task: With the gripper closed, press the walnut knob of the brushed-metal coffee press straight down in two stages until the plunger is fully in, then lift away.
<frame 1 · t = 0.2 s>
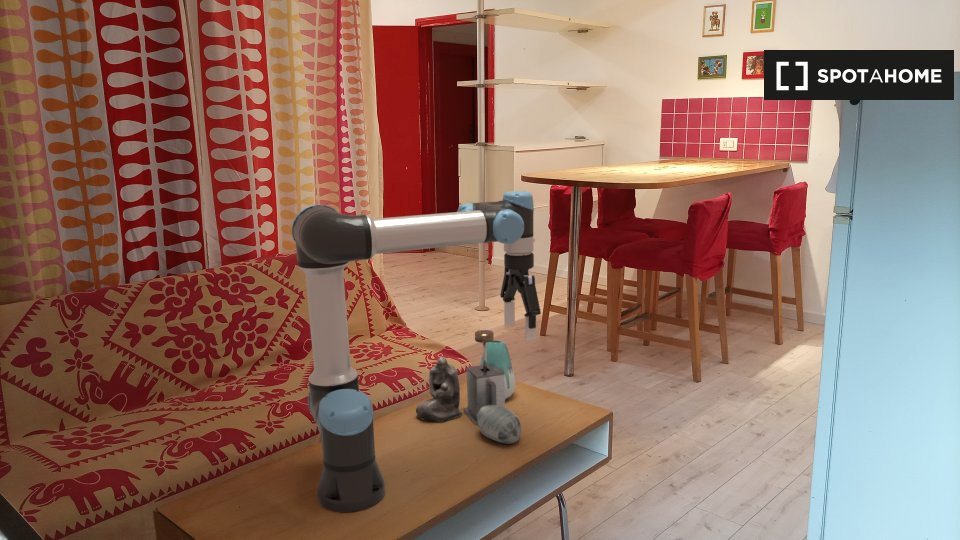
hand: (519, 332, 188), 28 cm above the table, fingers open, 13 cm apart
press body: (486, 415, 206), on the table
vase: (496, 397, 219), on the table
striped grey egg shape: (498, 438, 192), on the table
figurine: (440, 416, 206), on the table
plunger: (484, 354, 202), point 18 cm above the table, slide at 0.0 cm
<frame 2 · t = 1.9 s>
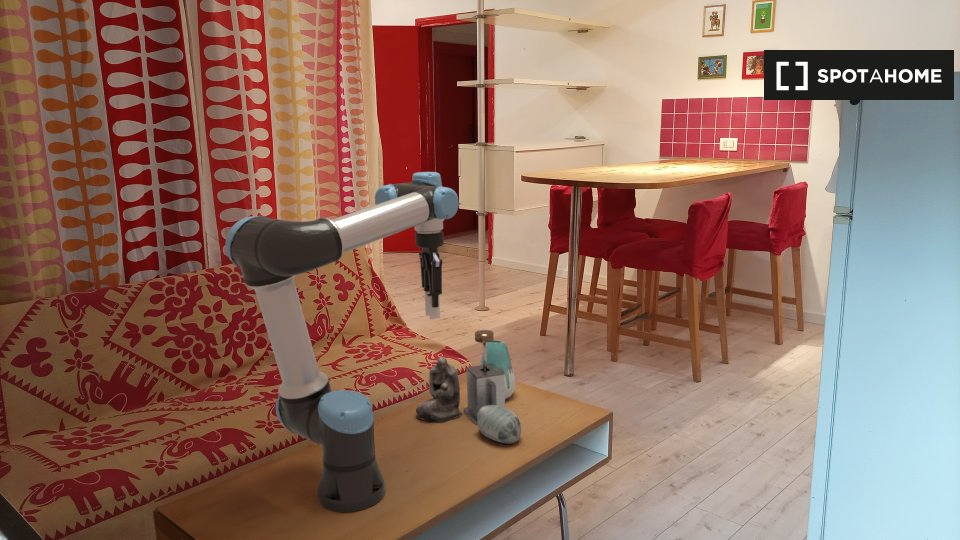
hand: (432, 316, 196), 31 cm above the table, fingers open, 3 cm apart
nothing on the table moved.
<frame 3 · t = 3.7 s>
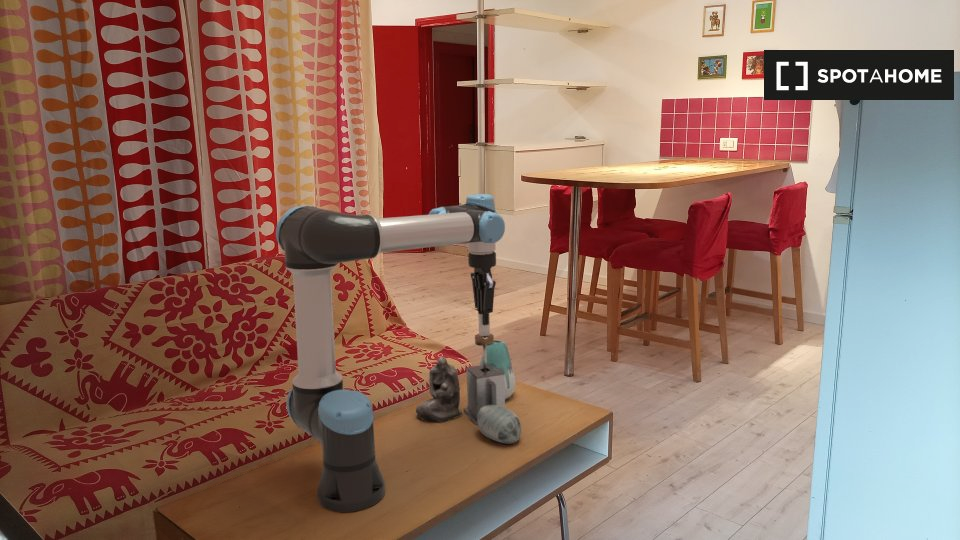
hand: (484, 335, 200), 24 cm above the table, fingers closed
plunger: (484, 358, 202), point 17 cm above the table, slide at 0.9 cm, touching gripper
everything else where it was.
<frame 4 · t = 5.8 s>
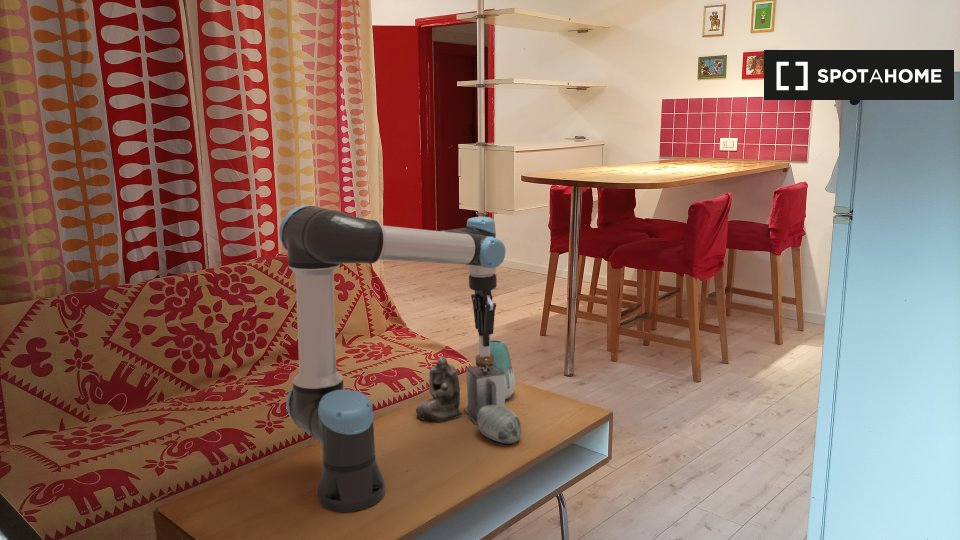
hand: (484, 356, 202), 18 cm above the table, fingers closed
plunger: (485, 378, 203), point 11 cm above the table, slide at 7.1 cm, touching gripper
everything else where it was.
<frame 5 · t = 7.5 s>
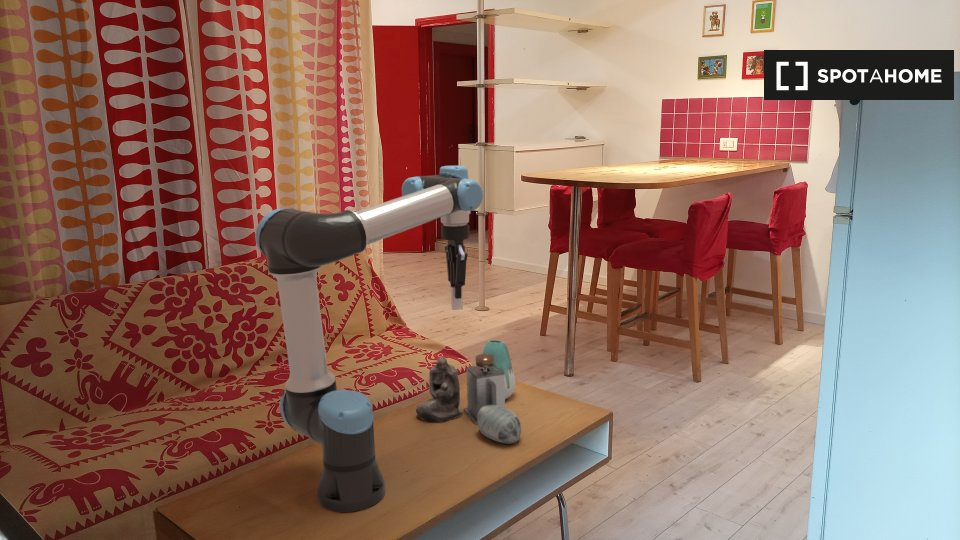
hand: (457, 309, 198), 32 cm above the table, fingers closed
plunger: (485, 378, 203), point 11 cm above the table, slide at 7.1 cm
everything else where it was.
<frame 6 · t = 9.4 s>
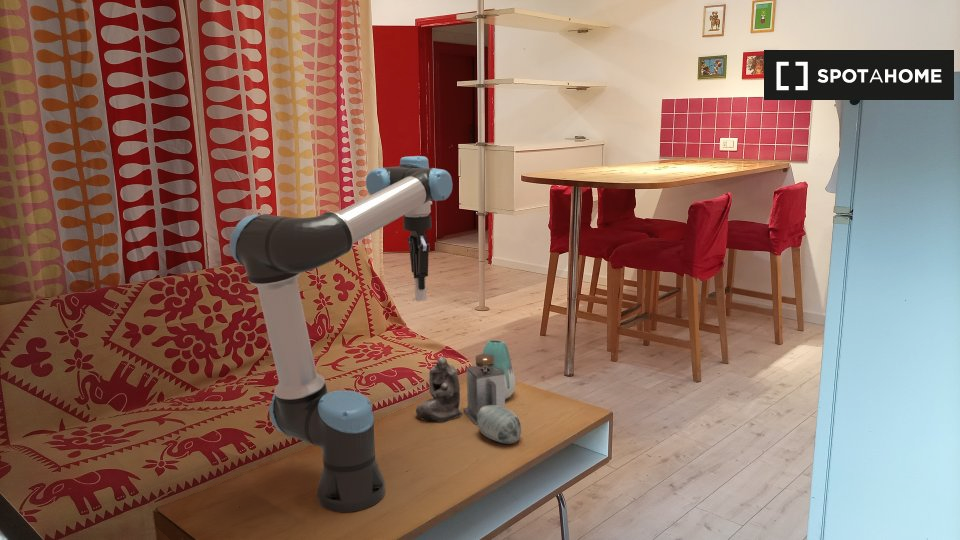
hand: (420, 300, 198), 34 cm above the table, fingers closed
nothing on the table moved.
at the end: plunger slide at 7.1 cm; plunger touching nothing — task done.
